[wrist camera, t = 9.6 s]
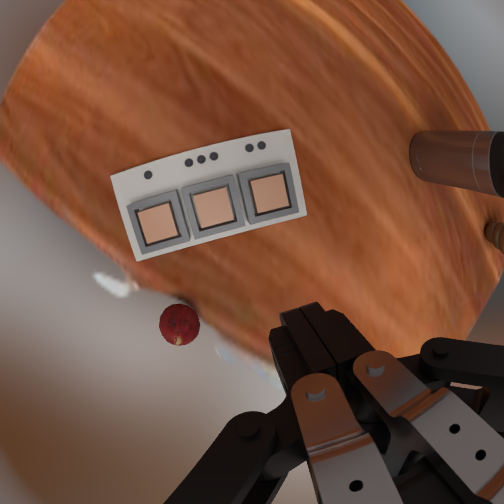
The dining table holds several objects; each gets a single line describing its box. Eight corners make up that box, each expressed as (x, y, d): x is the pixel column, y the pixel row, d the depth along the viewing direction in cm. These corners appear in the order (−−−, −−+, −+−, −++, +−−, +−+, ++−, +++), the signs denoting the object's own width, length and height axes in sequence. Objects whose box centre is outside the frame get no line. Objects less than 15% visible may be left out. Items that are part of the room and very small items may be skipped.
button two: (278, 173, 35) (282, 174, 33) (284, 203, 36) (289, 205, 34) (247, 180, 34) (250, 181, 33) (254, 210, 36) (257, 213, 34)
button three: (224, 186, 34) (225, 187, 32) (232, 216, 35) (233, 219, 34) (193, 194, 34) (192, 196, 32) (201, 224, 35) (201, 228, 33)
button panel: (285, 130, 36) (295, 126, 32) (302, 212, 40) (313, 218, 36) (114, 175, 34) (104, 176, 29) (139, 256, 38) (132, 267, 33)
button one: (170, 200, 33) (168, 203, 32) (179, 231, 35) (177, 234, 33) (140, 210, 33) (137, 212, 31) (150, 239, 34) (147, 243, 33)
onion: (158, 297, 40) (150, 326, 32) (195, 292, 41) (194, 320, 33) (167, 329, 42) (162, 361, 34) (202, 324, 42) (204, 356, 35)
